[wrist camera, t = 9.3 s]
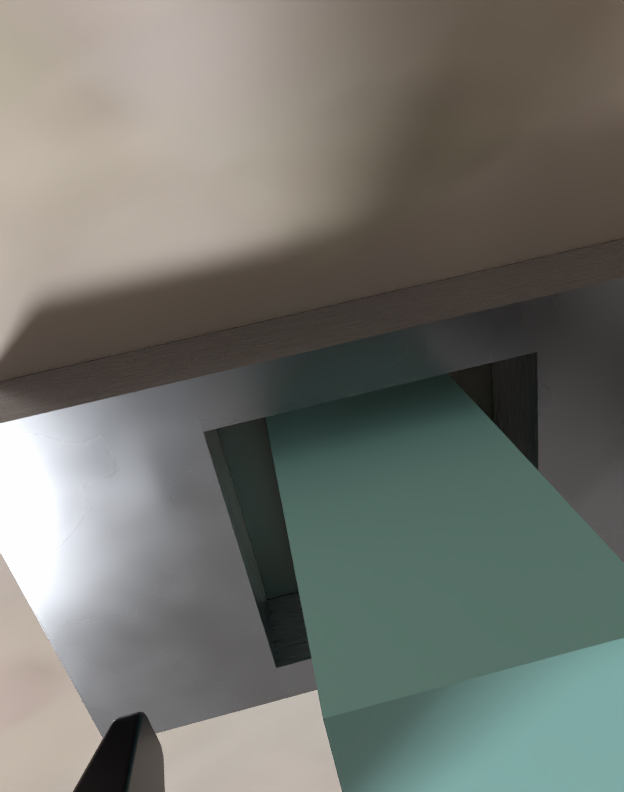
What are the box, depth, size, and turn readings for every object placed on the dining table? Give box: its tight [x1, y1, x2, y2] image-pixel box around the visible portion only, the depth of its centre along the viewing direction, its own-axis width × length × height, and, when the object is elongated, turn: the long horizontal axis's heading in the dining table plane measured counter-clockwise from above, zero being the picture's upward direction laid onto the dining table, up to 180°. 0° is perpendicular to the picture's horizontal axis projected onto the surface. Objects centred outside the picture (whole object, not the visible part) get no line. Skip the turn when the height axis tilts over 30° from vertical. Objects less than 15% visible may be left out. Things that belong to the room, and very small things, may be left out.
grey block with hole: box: [0, 239, 624, 738], centre depth 13 cm, size 20×8×2 cm, turn 101°
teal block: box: [265, 373, 624, 792], centre depth 10 cm, size 4×4×7 cm
